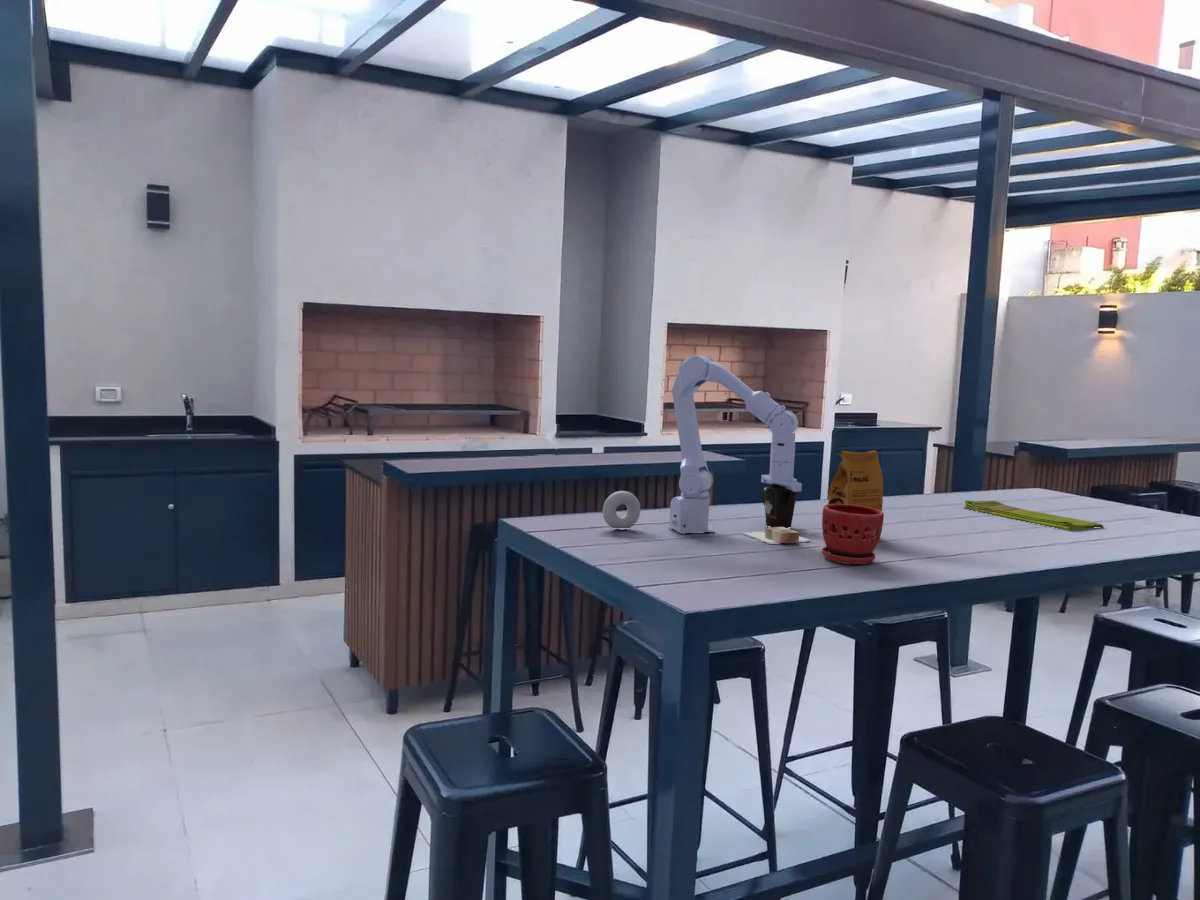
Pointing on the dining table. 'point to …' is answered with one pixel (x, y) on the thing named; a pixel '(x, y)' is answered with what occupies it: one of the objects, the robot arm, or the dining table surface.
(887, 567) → the dining table surface
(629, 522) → the donut
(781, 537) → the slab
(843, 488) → the coffee package
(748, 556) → the dining table surface
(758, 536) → the mat
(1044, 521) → the dish towel
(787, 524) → the coffee mug
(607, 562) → the dining table surface
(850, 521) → the plant pot
